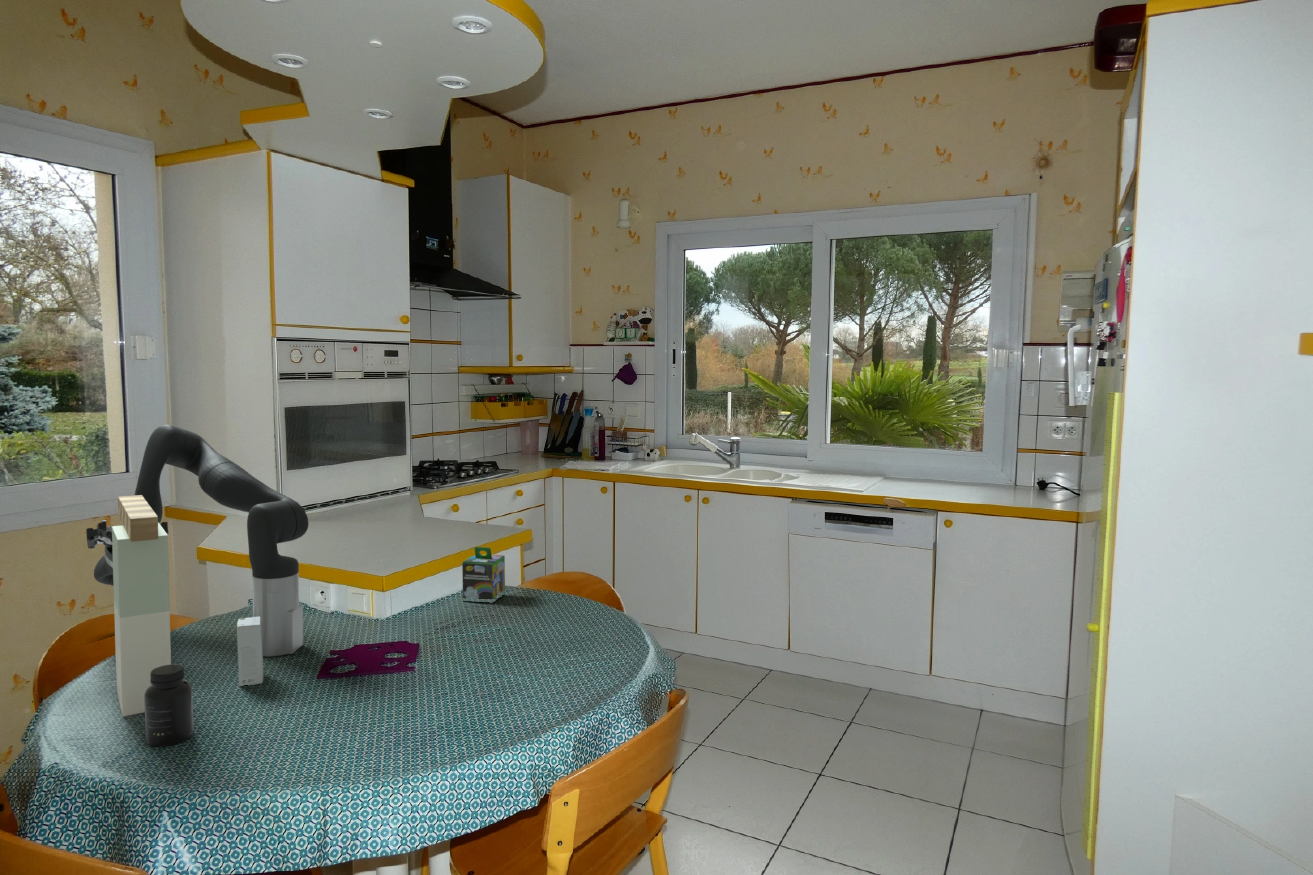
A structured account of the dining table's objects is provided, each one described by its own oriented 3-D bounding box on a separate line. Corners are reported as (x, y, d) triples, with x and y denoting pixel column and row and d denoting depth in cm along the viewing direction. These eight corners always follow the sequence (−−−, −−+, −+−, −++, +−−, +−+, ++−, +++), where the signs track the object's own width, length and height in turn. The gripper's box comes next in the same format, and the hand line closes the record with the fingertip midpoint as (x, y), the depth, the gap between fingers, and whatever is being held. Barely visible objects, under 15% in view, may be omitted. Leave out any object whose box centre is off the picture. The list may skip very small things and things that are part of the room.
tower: (116, 690, 149) (111, 526, 146) (162, 681, 153) (158, 522, 151) (122, 716, 138) (117, 539, 135) (171, 706, 142) (167, 535, 140)
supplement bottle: (159, 728, 134) (158, 661, 133) (201, 728, 134) (199, 661, 133) (136, 747, 127) (134, 676, 126) (180, 747, 127) (178, 676, 126)
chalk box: (505, 595, 219) (506, 543, 218) (492, 604, 210) (493, 550, 209) (475, 592, 221) (475, 541, 220) (461, 601, 212) (461, 548, 211)
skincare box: (263, 683, 154) (262, 624, 153) (237, 687, 152) (236, 626, 151) (263, 672, 159) (262, 615, 158) (238, 675, 157) (237, 617, 156)
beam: (118, 516, 156) (118, 496, 156) (142, 514, 158) (141, 495, 158) (131, 541, 134) (130, 518, 134) (158, 539, 136) (157, 516, 136)
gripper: (84, 536, 168) (86, 508, 156) (162, 529, 177) (168, 502, 165) (86, 569, 165) (87, 543, 154) (164, 560, 174) (171, 535, 163)
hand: (129, 522), depth 159 cm, fingers open, 8 cm apart
